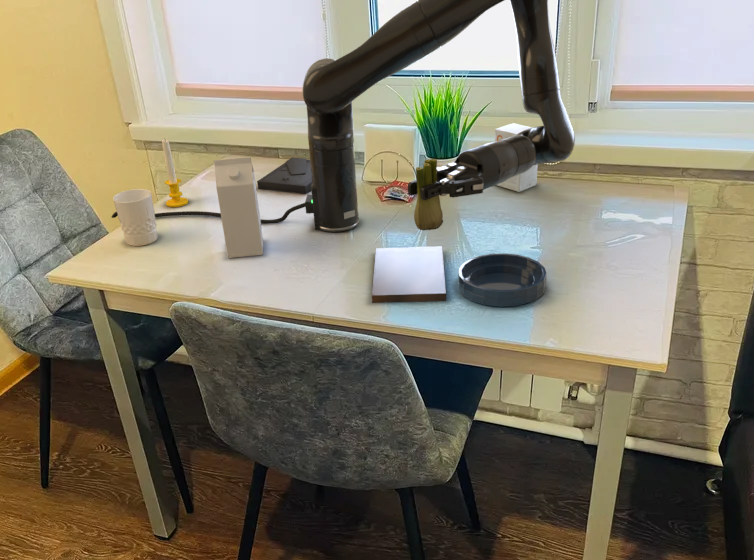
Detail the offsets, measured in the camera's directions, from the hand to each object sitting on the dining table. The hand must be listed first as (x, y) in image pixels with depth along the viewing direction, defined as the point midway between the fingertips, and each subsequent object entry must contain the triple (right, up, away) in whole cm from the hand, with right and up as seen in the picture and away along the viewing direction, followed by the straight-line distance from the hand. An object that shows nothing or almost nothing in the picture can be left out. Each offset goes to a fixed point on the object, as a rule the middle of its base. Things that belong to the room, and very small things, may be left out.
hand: (416, 191), depth 133 cm
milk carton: (-33, -5, +28) cm, 43 cm away
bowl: (+16, -15, +7) cm, 23 cm away
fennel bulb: (+3, -5, +6) cm, 8 cm away
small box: (+27, +14, +49) cm, 58 cm away
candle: (-53, +10, +53) cm, 75 cm away
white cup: (-56, -2, +36) cm, 67 cm away
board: (0, -13, +13) cm, 18 cm away
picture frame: (-24, +18, +62) cm, 69 cm away
